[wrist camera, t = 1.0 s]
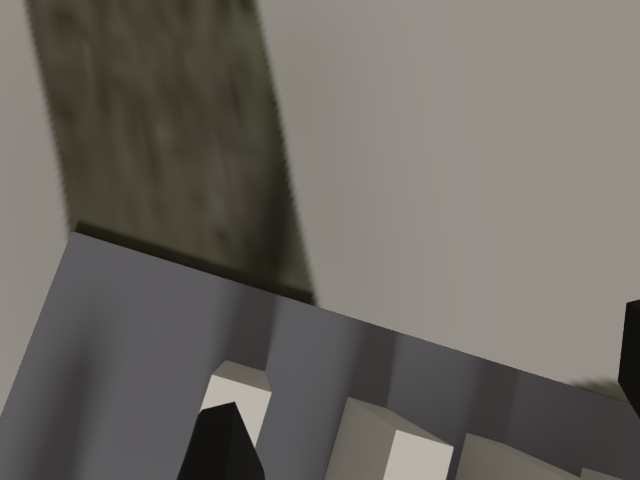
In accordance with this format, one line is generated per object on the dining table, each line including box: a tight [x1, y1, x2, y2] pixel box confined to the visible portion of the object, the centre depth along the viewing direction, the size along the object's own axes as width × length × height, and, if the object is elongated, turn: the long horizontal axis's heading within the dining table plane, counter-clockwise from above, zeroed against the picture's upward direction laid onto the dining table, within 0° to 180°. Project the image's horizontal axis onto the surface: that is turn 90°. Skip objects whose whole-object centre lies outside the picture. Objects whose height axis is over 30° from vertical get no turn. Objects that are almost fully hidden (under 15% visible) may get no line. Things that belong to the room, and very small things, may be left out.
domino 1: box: [199, 360, 272, 448], centre depth 19 cm, size 2×4×8 cm, turn 163°
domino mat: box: [0, 231, 640, 480], centre depth 23 cm, size 26×10×1 cm, turn 73°
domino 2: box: [324, 397, 454, 480], centre depth 19 cm, size 2×4×8 cm, turn 163°
